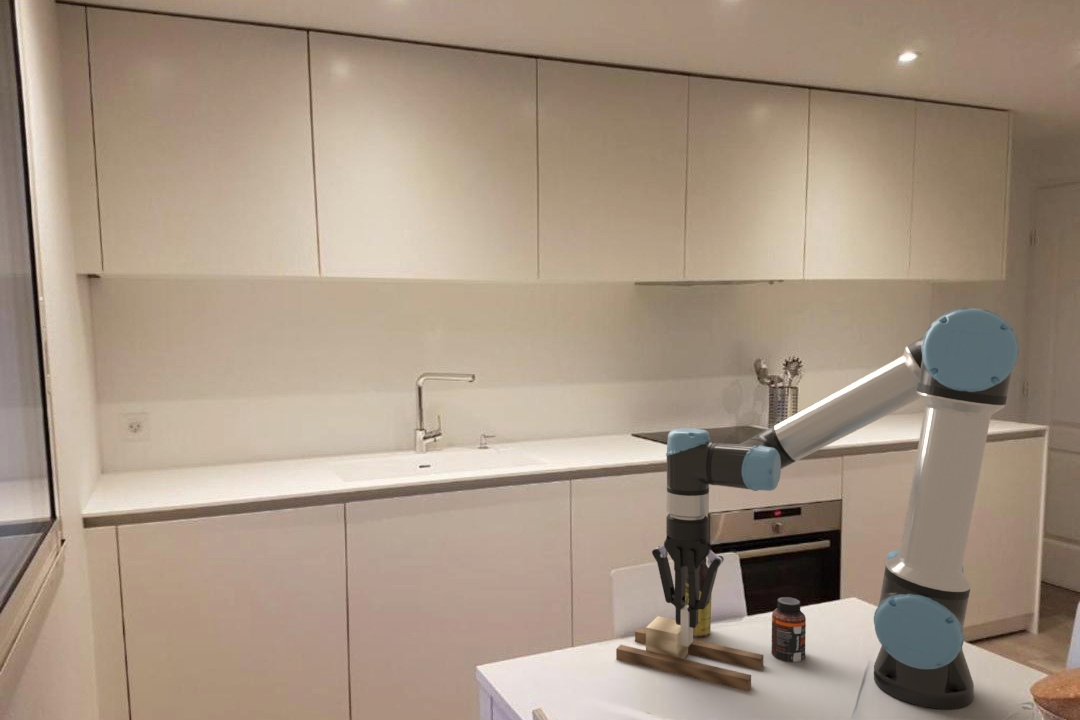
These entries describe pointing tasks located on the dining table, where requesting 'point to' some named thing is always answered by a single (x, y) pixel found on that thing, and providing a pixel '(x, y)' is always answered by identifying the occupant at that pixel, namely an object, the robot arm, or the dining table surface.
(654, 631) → the block
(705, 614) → the sauce bottle
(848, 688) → the dining table surface
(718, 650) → the walnut chute
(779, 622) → the supplement bottle
